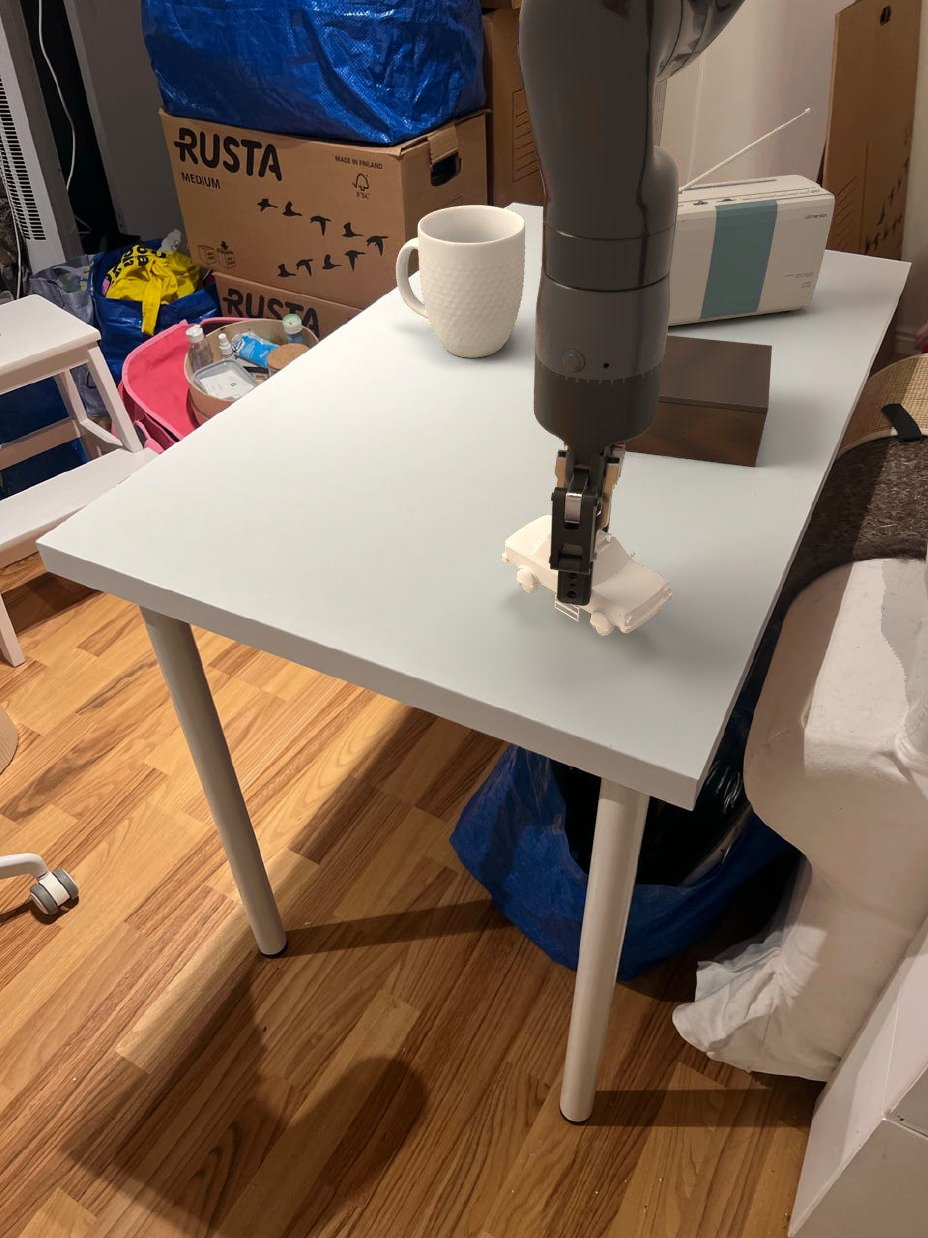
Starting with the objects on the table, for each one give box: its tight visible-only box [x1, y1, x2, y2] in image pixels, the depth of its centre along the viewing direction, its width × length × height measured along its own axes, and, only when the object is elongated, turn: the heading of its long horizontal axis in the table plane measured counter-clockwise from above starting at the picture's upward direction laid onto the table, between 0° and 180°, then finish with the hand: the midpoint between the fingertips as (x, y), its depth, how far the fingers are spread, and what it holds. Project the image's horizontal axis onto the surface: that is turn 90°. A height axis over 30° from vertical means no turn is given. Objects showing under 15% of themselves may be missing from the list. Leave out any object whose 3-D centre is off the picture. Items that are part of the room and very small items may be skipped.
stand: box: [625, 334, 773, 468], centre depth 86 cm, size 14×12×6 cm
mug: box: [395, 204, 526, 359], centre depth 97 cm, size 15×11×13 cm
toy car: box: [501, 514, 673, 637], centre depth 64 cm, size 6×12×7 cm, turn 44°
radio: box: [668, 107, 836, 327], centre depth 99 cm, size 21×8×20 cm, turn 104°
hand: (583, 565), depth 64 cm, fingers closed on toy car, 7 cm apart
